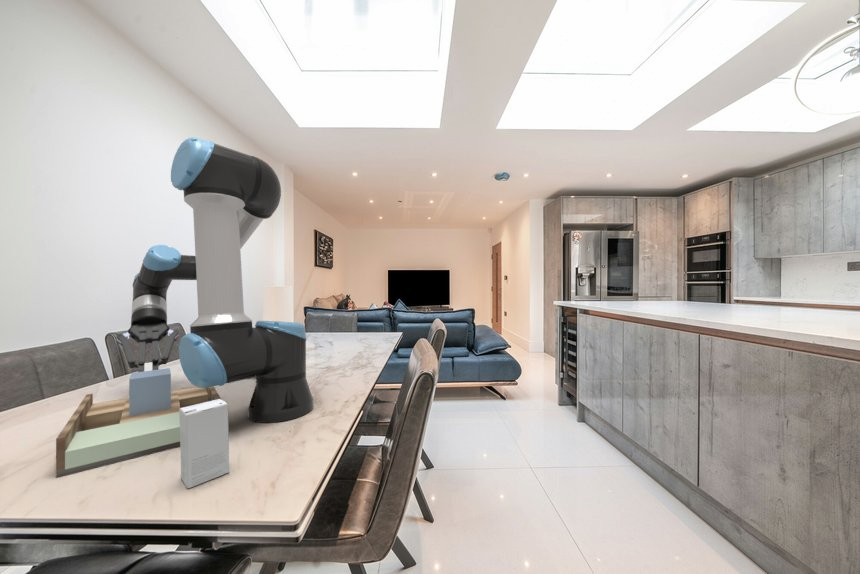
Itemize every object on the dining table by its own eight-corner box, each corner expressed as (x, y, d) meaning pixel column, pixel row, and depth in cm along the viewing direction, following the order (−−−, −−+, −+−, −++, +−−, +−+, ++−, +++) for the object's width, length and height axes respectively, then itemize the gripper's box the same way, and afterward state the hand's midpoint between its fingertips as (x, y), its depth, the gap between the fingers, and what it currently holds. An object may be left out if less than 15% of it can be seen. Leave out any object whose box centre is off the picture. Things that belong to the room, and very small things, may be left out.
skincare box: (221, 464, 58) (220, 397, 58) (230, 473, 55) (230, 402, 55) (178, 480, 53) (178, 406, 53) (186, 491, 50) (185, 413, 50)
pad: (76, 447, 62) (76, 432, 62) (212, 417, 77) (212, 405, 77) (65, 469, 55) (65, 452, 55) (218, 431, 69) (218, 418, 69)
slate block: (131, 407, 75) (131, 373, 75) (169, 400, 80) (169, 368, 80) (129, 416, 70) (129, 379, 70) (170, 408, 74) (170, 373, 74)
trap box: (86, 421, 77) (86, 394, 77) (208, 399, 93) (208, 376, 93) (56, 477, 54) (56, 438, 54) (224, 435, 70) (224, 404, 70)
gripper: (178, 322, 97) (181, 391, 84) (118, 325, 89) (111, 402, 76) (179, 305, 93) (182, 374, 80) (116, 307, 85) (108, 385, 72)
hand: (148, 388), depth 78 cm, fingers closed
